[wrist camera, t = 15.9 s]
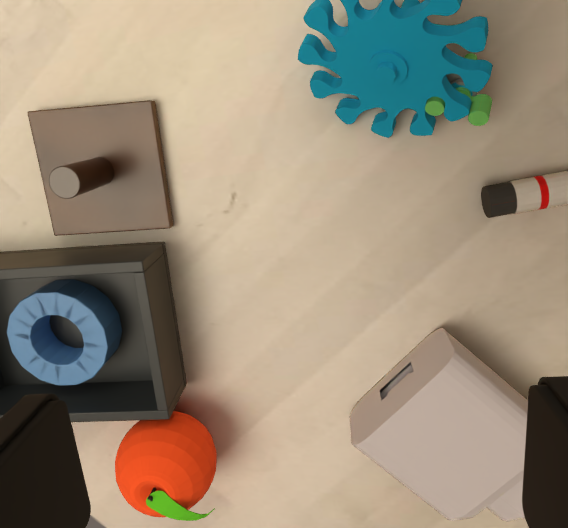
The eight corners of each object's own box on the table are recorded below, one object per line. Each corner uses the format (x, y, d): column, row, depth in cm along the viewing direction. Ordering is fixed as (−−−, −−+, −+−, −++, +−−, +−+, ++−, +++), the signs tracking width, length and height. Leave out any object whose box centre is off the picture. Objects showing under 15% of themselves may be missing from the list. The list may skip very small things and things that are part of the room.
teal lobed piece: (265, 81, 30) (355, -69, 21) (299, 18, 32) (390, -139, 24) (419, 178, 32) (555, 79, 24) (438, 112, 35) (567, 1, 26)
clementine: (254, 436, 39) (239, 507, 32) (201, 492, 41) (176, 569, 34) (169, 374, 38) (135, 434, 31) (118, 434, 40) (76, 502, 33)
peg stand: (33, 111, 33) (-23, 113, 28) (155, 100, 32) (121, 100, 27) (60, 232, 35) (13, 256, 30) (174, 225, 35) (146, 248, 29)
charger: (493, 524, 40) (348, 409, 38) (590, 450, 37) (440, 322, 35) (515, 578, 35) (351, 451, 33) (626, 499, 33) (456, 355, 31)
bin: (-35, 253, 36) (-83, 274, 32) (164, 241, 35) (142, 260, 31) (3, 390, 40) (-36, 425, 35) (186, 384, 38) (169, 419, 34)
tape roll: (18, 282, 36) (-4, 295, 34) (112, 276, 35) (96, 290, 33) (40, 368, 38) (20, 387, 36) (129, 365, 37) (115, 384, 35)
